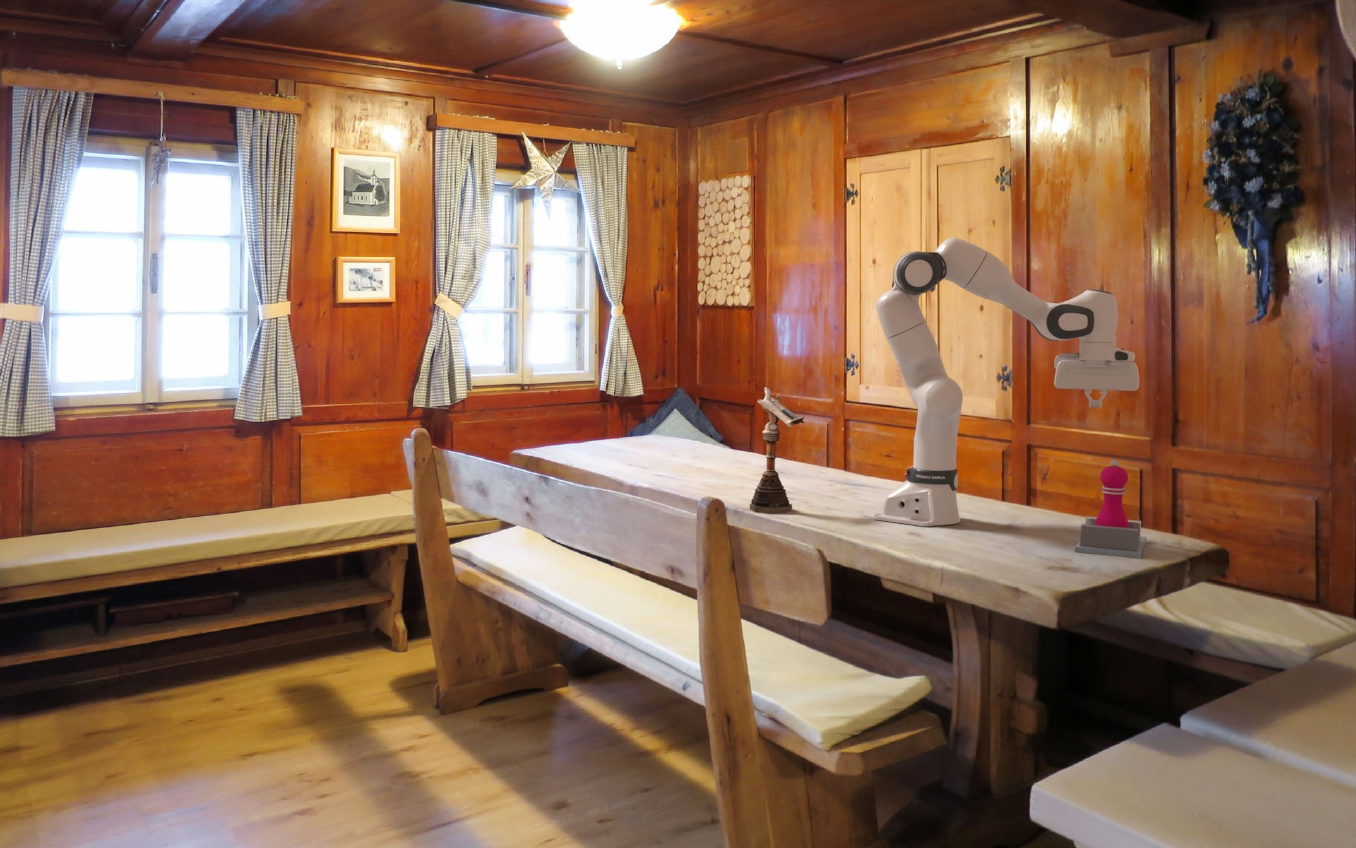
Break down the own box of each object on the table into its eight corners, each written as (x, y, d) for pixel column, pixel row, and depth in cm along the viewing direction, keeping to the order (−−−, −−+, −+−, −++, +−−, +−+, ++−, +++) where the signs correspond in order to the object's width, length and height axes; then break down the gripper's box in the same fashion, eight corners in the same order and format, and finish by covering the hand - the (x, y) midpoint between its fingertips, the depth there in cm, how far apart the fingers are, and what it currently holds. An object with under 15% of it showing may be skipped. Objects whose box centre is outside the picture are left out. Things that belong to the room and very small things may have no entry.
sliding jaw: (1084, 537, 245) (1085, 518, 244) (1086, 535, 247) (1086, 516, 247) (1139, 542, 239) (1140, 522, 239) (1140, 540, 242) (1141, 521, 241)
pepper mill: (1096, 546, 237) (1100, 461, 234) (1092, 539, 243) (1096, 456, 241) (1130, 548, 235) (1134, 462, 232) (1125, 541, 242) (1129, 458, 239)
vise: (1074, 551, 236) (1076, 526, 236) (1084, 535, 253) (1085, 512, 253) (1141, 558, 230) (1142, 532, 229) (1145, 541, 247) (1147, 517, 246)
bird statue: (815, 508, 289) (817, 385, 285) (798, 516, 277) (800, 388, 274) (762, 503, 297) (763, 383, 293) (743, 511, 285) (744, 386, 282)
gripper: (1053, 353, 262) (1050, 406, 264) (1139, 354, 253) (1137, 409, 255) (1056, 352, 268) (1054, 404, 269) (1141, 353, 259) (1138, 407, 260)
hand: (1095, 407), depth 262 cm, fingers closed
